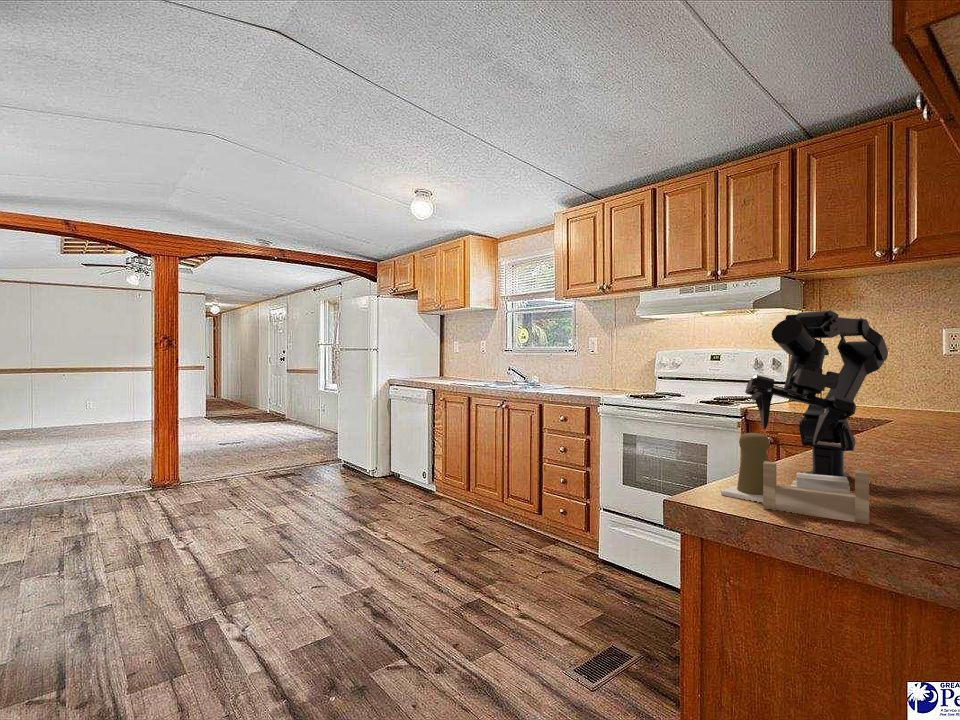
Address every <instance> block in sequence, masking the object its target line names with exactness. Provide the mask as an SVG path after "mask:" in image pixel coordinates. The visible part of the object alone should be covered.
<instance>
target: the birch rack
mask: <svg viewBox="0 0 960 720" xmlns="http://www.w3.org/2000/svg"><path fill="white" fill-rule="evenodd" d="M762 505H763V508H764V510H768V509H772V510H771V511H776V510H779V511H778V512H783V511H786V512H785V513H790V512H792V514H797V513H798V514H797V515H803V514H804V515H805V516H810V517H811V516H812V517H818V518H825V519H830V520H831V519H833V520H840V521H846V522H852V523H856V524H857V523H858V524H865V525H870V472H869V471H865V470H855V471H854V494H843V493H834V492H826V491H818V490H810V489H802V488H793V487H790V486H784V485H778V484H777V462H775V461H768V462H767V461H765V462H764V463H763V503H762ZM763 508H762V509H763Z"/></svg>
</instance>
